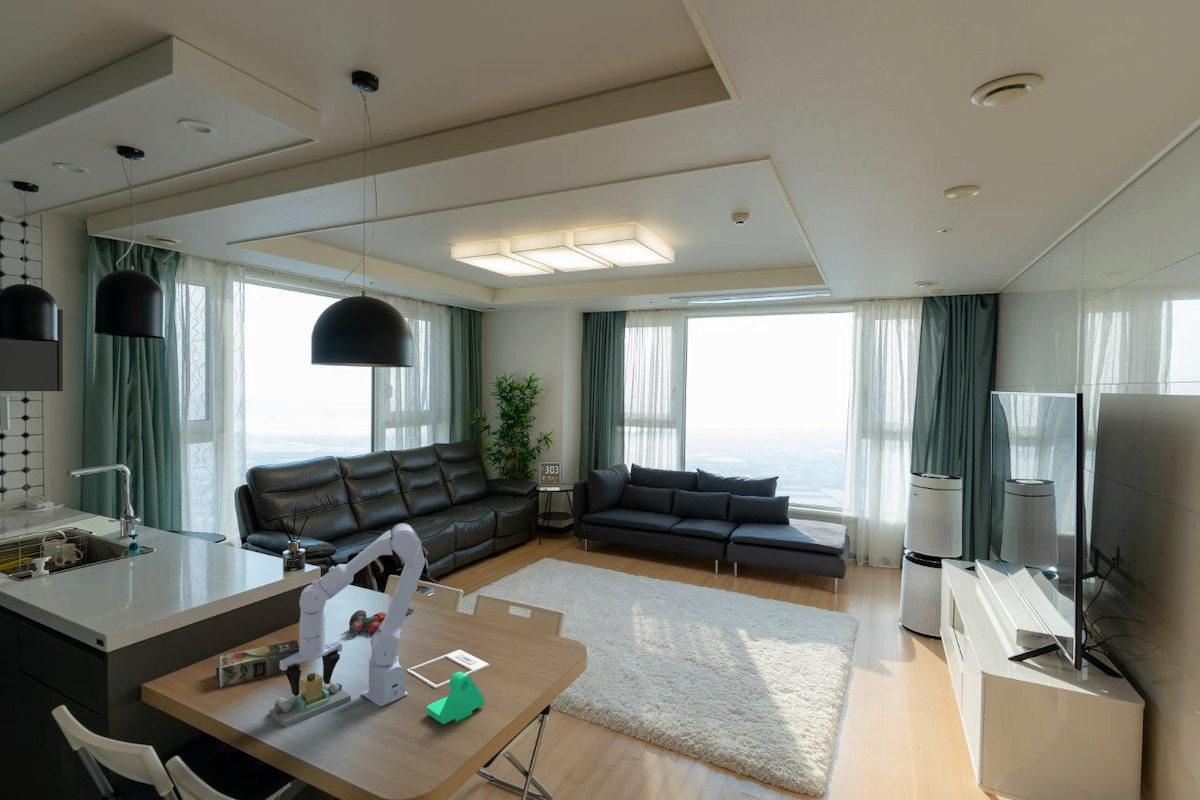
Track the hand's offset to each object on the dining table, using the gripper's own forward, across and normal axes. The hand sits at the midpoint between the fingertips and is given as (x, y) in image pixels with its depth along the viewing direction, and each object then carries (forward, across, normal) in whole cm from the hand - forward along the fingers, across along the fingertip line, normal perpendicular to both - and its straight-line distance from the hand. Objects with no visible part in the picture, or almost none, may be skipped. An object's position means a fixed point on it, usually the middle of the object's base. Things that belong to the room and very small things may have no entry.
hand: (311, 688), depth 143 cm
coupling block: (+3, 0, 0) cm, 3 cm away
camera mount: (+5, -22, +29) cm, 37 cm away
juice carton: (+5, +1, -30) cm, 30 cm away
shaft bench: (+5, 0, 0) cm, 5 cm away
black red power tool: (+5, -40, -33) cm, 52 cm away
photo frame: (+5, -35, +9) cm, 36 cm away
